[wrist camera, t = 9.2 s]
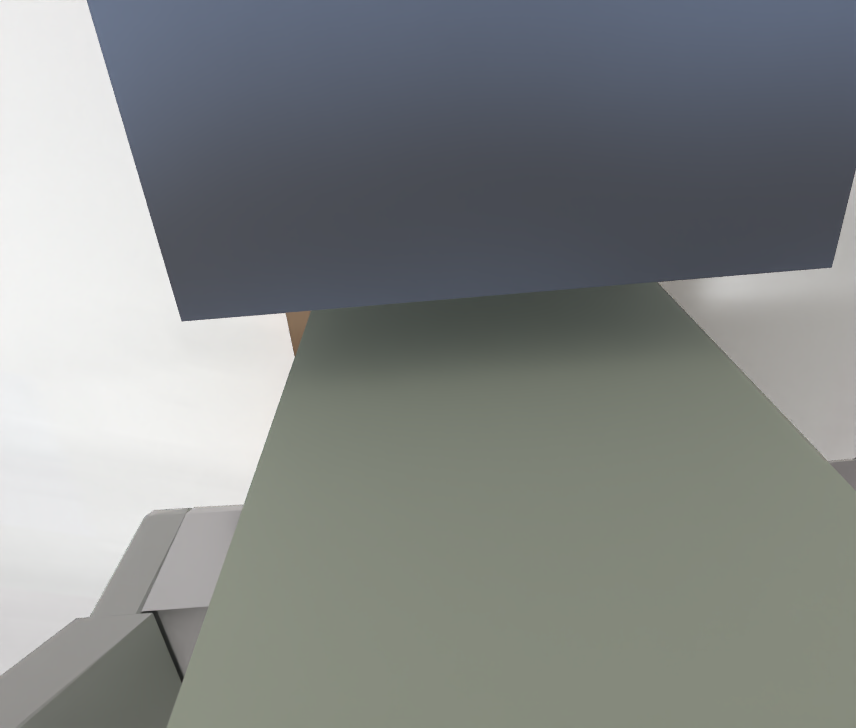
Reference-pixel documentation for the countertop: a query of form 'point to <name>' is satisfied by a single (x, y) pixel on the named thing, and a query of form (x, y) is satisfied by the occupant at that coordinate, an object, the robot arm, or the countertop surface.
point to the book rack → (479, 144)
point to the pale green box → (530, 532)
